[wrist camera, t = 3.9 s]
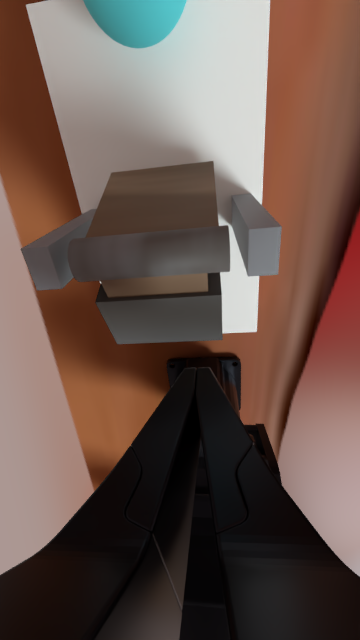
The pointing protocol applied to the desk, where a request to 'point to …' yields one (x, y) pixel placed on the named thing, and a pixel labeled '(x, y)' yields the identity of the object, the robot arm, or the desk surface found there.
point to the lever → (157, 255)
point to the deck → (164, 126)
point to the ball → (136, 19)
